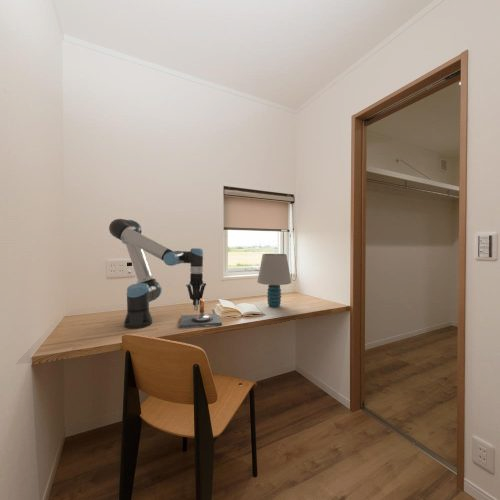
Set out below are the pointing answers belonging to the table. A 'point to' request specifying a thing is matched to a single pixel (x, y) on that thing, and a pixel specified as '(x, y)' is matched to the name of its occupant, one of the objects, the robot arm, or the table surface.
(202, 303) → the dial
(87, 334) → the table surface
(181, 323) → the panel
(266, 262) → the lamp
